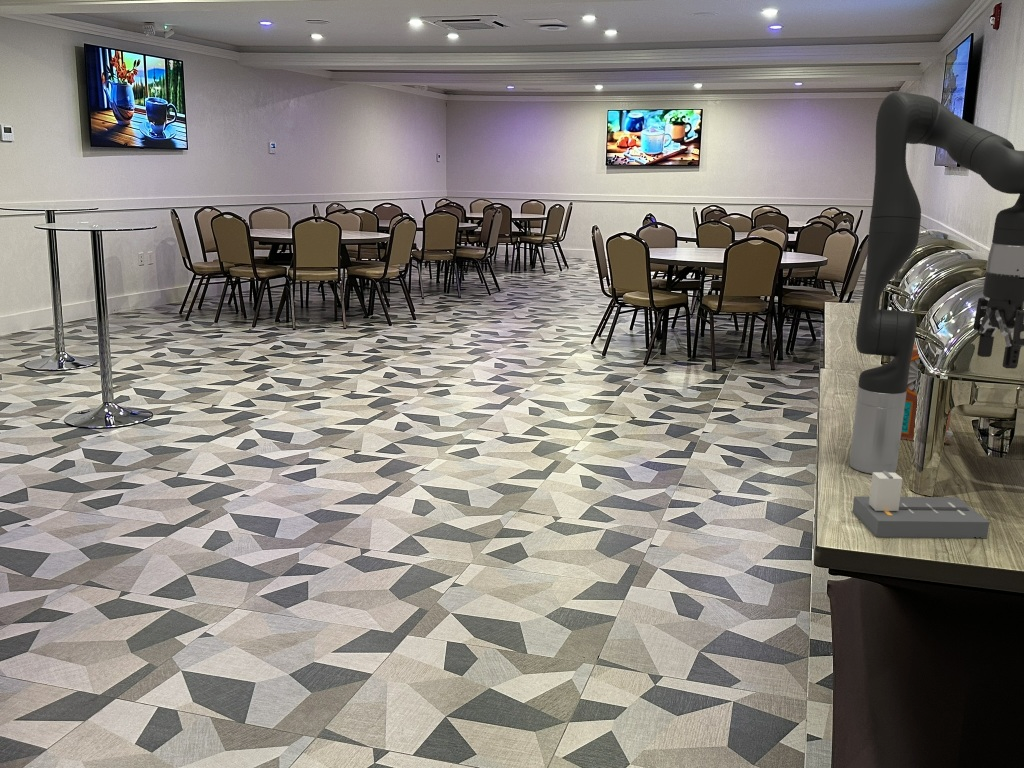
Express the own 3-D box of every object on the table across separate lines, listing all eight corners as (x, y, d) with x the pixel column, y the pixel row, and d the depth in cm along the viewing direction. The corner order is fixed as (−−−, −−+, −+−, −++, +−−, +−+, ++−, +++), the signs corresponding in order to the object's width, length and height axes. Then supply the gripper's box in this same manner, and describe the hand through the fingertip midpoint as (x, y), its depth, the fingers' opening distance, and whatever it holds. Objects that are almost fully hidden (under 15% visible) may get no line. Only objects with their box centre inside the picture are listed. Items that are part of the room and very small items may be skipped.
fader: (868, 504, 157) (872, 470, 156) (891, 504, 157) (895, 470, 156) (875, 510, 154) (879, 476, 153) (898, 510, 154) (902, 477, 153)
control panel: (949, 448, 197) (878, 436, 205) (953, 440, 203) (884, 428, 211) (962, 354, 192) (889, 346, 200) (967, 349, 197) (895, 340, 205)
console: (852, 511, 162) (854, 495, 161) (955, 512, 162) (958, 496, 161) (876, 537, 151) (878, 520, 151) (986, 538, 151) (989, 521, 151)
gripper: (968, 265, 159) (955, 352, 163) (1011, 276, 145) (996, 371, 149) (1009, 265, 159) (996, 353, 163) (1057, 276, 145) (1040, 372, 149)
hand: (996, 362), depth 156 cm, fingers open, 8 cm apart
